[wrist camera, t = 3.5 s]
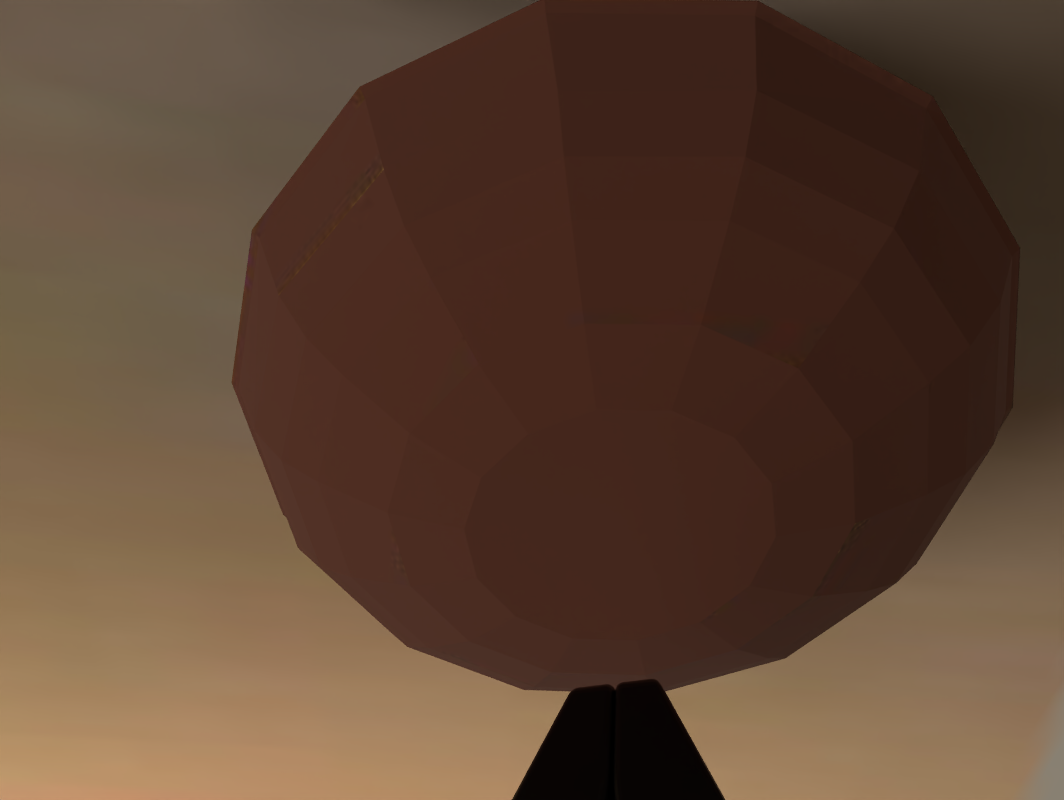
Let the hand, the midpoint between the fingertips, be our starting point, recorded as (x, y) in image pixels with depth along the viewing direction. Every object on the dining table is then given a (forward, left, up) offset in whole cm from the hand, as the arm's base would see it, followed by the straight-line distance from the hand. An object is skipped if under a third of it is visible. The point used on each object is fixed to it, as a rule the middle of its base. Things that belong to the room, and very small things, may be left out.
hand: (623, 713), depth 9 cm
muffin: (0, 0, -13) cm, 13 cm away
